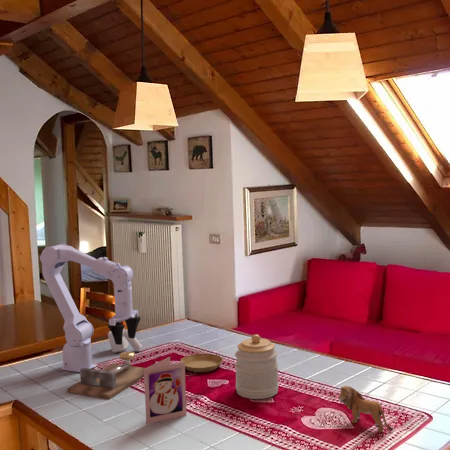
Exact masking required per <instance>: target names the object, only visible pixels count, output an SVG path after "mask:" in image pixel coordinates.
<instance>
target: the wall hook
mask: <svg viewBox="0 0 450 450" xmlns="http://www.w3.org/2000/svg"><path fill="white" fill-rule="evenodd" d="M107 337H108V341H109V344H110V347H111V348H110V349H111V351H112V353H113V354H115V353H122V352H124V351H126V349H127V348H129V345H131V347H132V349H133V350H134V352H138V351H139V350H141V348H143V345H142V344H141V343H140V341H139V340H138V339H137V338H136V337H135V338H134V339H133V338H129V337H128V331H127V328H126V329H125V328H124V329H123V335H122V344H121V345H118V344H115V340H114V337H113V334H112V332H111V331H108V333H107Z"/></svg>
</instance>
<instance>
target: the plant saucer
mask: <svg viewBox="0 0 450 450" xmlns="http://www.w3.org/2000/svg"><path fill="white" fill-rule="evenodd" d="M223 361H224V358H223V357H222V356H221V355H217V354H214V353H207V352H206V353H203V352H202V353H194V354H189V355H186V356H184V357H182V358H180V361H179V363H183V362H185V370H187V371H189V372H192V371H193V372H192V373H207V372H211V371H214V370H216V369H217V368H218V367H220V365H221V364H222V363H223Z"/></svg>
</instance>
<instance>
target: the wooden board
mask: <svg viewBox="0 0 450 450" xmlns="http://www.w3.org/2000/svg"><path fill="white" fill-rule="evenodd" d="M120 365H121V364H117V363H112V364H110V365H108V366H107V367H105V368H102V369H96V368H92V369H89V368H82V369H80V372H79V374H80V380H79V381H78V382H76V383H75V384H72V385H71V386H69V387H67V388H66V389H67V393H73V394H79V395H85V396H90V397H95V398H101V399H109V400H111V399H113V398H115V396H117V395H119V394H120V393H122V392H124V391H125V390H127V389H128V387H129V388H130V387H132V386H134V385H135V384H137V383H138V382H140V381H141V380H140V379H142V378H143V377H144V369H145V368H146V367H140V366H134V365H133V366H132V365H131V367H129V368H126V369H124V370H122V371H121V372H119V373H117V374H116V372H110V371H111V370H113V369H115V368H116V367H118V366H120ZM143 379H144V378H143ZM143 379H142V380H143ZM139 380H140V381H139ZM137 381H138V382H137ZM136 382H137V383H136ZM134 383H135V384H134ZM131 385H132V386H131Z"/></svg>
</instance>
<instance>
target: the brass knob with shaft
mask: <svg viewBox="0 0 450 450" xmlns="http://www.w3.org/2000/svg"><path fill="white" fill-rule="evenodd" d="M135 355H136V354H135V351H131V350H127V351H126V350H125V351H121V352H119V359H120V360H124V363H122V364H120V366H118V367H116V368H115V369H113V370H111V371H110V372H116V374H117V373H119V372H121V371H122V370H124V369H126V368H129V367H131V366H132V365H131V359H134V358H135Z"/></svg>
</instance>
